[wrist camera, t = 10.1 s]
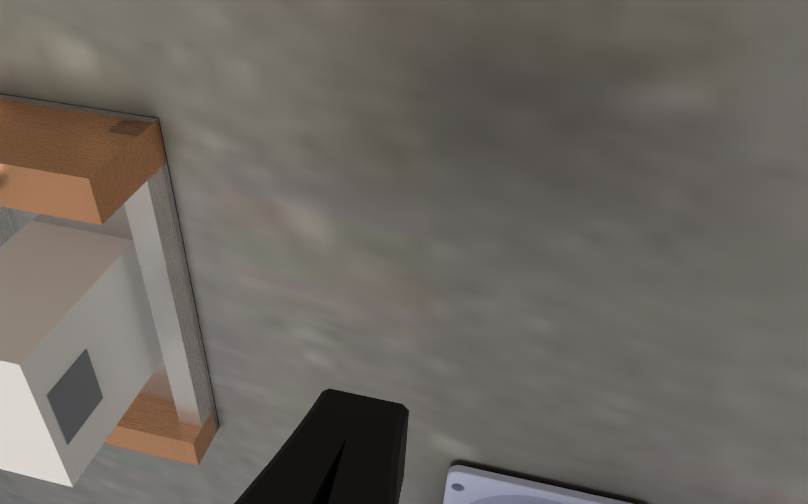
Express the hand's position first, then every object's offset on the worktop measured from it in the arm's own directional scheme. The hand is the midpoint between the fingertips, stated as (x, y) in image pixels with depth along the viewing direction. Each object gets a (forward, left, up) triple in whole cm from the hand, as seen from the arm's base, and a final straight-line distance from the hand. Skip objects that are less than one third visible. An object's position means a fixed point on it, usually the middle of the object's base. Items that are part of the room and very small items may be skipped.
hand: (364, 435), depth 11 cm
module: (-8, +13, -10) cm, 18 cm away
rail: (-8, +13, -10) cm, 18 cm away
